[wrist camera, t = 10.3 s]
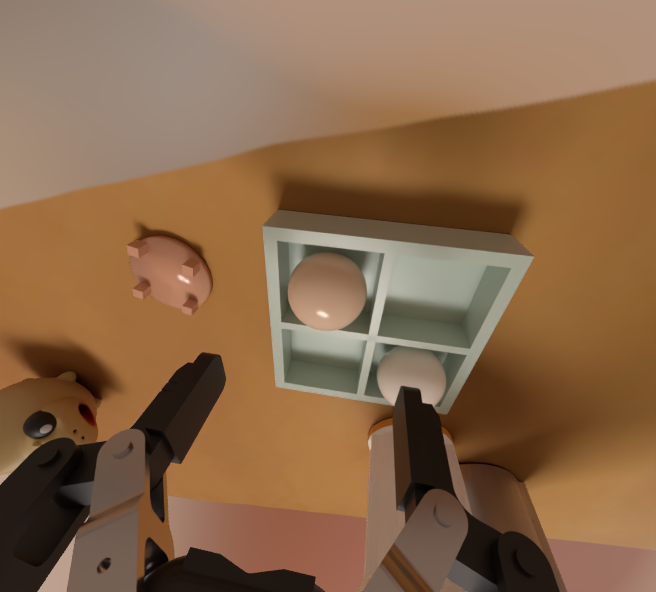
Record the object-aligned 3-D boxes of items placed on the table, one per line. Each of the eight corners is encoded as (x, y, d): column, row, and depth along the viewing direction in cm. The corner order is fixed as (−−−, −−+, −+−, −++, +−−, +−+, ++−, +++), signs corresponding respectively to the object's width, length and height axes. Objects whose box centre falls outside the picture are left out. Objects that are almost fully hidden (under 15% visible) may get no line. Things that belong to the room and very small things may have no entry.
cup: (420, 395, 26) (471, 730, 12) (483, 448, 30) (581, 756, 16) (338, 430, 32) (308, 687, 18) (400, 471, 35) (416, 713, 21)
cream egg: (451, 343, 21) (469, 398, 17) (419, 379, 24) (428, 434, 20) (393, 322, 21) (397, 373, 17) (367, 361, 24) (365, 413, 20)
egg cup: (215, 253, 20) (204, 263, 19) (210, 314, 24) (200, 325, 23) (130, 222, 20) (113, 230, 19) (138, 289, 24) (124, 300, 22)
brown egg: (373, 243, 18) (372, 283, 14) (363, 304, 21) (359, 353, 16) (298, 234, 18) (274, 271, 14) (298, 296, 21) (278, 341, 17)
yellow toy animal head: (143, 410, 36) (69, 505, 27) (71, 406, 39) (-17, 493, 30) (97, 358, 31) (-12, 457, 22) (18, 358, 33) (-109, 446, 24)
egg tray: (511, 234, 17) (534, 256, 14) (440, 384, 25) (446, 414, 23) (278, 209, 18) (262, 226, 15) (285, 360, 26) (275, 386, 24)
